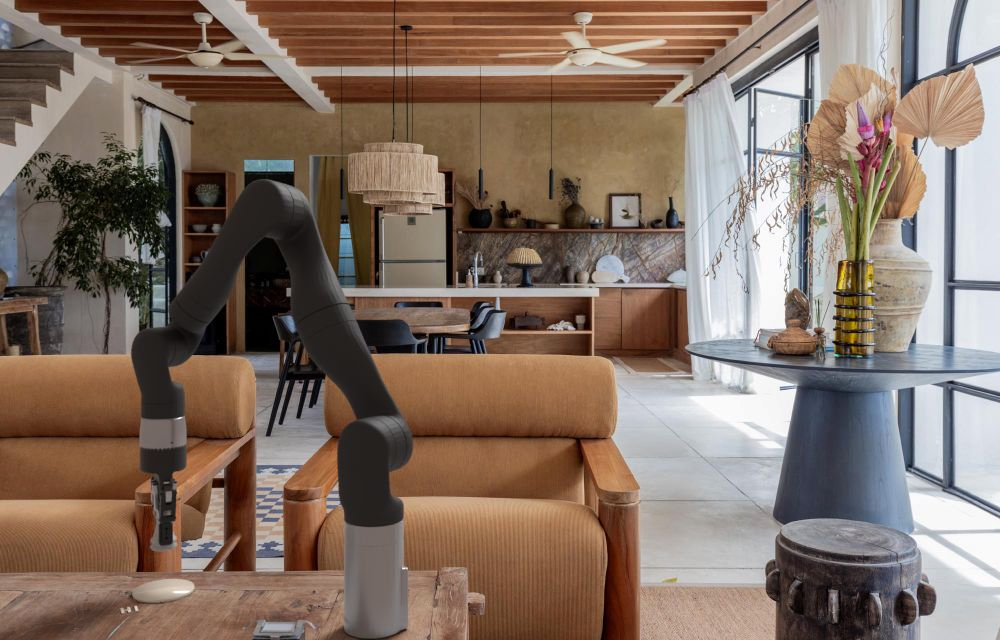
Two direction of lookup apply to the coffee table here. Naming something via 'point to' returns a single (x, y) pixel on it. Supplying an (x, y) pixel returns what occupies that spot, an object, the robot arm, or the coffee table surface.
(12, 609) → the coffee table surface
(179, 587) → the cream round disc
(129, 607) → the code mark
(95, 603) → the coffee table surface
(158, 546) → the rook chess piece
